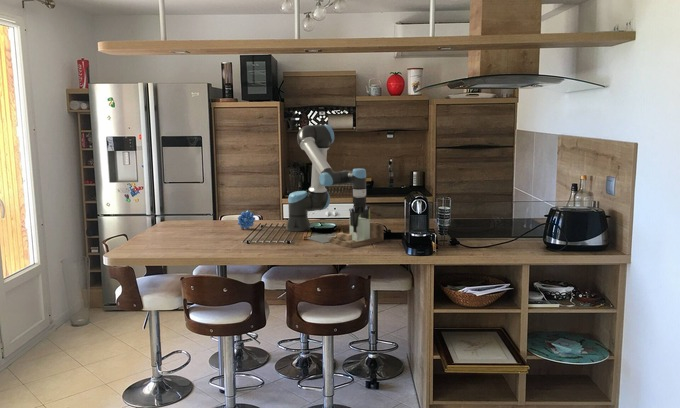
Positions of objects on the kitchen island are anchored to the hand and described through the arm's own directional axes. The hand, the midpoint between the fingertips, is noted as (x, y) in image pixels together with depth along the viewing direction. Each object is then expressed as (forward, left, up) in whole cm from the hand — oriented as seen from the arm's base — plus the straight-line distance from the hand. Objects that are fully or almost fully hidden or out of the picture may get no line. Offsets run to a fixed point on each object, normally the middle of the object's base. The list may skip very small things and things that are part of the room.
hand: (359, 237), depth 317 cm
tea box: (-16, +15, -2) cm, 22 cm away
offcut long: (0, -10, -3) cm, 11 cm away
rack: (0, -2, -2) cm, 3 cm away
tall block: (0, 0, -2) cm, 2 cm away
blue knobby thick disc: (-72, -30, -2) cm, 78 cm away
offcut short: (0, -11, 0) cm, 11 cm away
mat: (-17, -13, -2) cm, 22 cm away
